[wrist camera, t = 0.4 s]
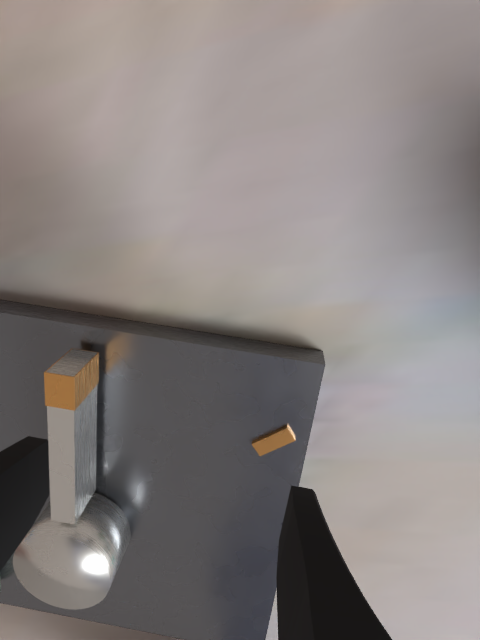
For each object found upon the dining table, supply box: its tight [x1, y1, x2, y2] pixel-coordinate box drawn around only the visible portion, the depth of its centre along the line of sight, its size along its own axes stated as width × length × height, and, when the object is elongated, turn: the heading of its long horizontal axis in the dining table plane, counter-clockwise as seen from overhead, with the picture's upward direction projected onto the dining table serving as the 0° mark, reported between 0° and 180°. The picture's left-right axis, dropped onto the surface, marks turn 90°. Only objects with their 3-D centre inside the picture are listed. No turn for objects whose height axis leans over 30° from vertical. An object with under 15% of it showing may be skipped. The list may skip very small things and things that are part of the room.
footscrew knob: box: [13, 348, 131, 610], centre depth 22 cm, size 14×5×3 cm, turn 173°
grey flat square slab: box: [0, 300, 325, 640], centre depth 24 cm, size 20×20×3 cm
